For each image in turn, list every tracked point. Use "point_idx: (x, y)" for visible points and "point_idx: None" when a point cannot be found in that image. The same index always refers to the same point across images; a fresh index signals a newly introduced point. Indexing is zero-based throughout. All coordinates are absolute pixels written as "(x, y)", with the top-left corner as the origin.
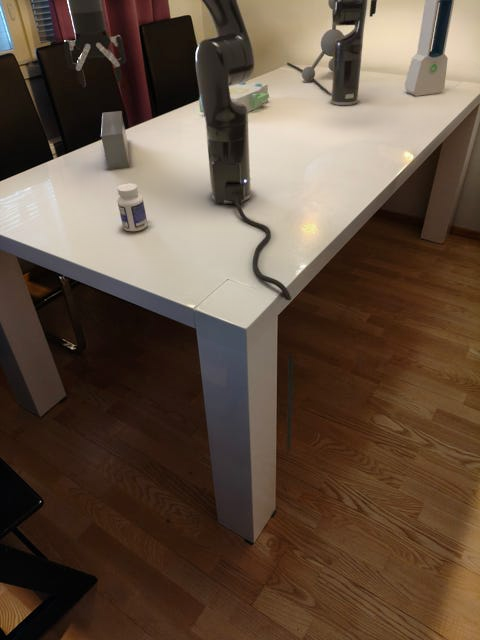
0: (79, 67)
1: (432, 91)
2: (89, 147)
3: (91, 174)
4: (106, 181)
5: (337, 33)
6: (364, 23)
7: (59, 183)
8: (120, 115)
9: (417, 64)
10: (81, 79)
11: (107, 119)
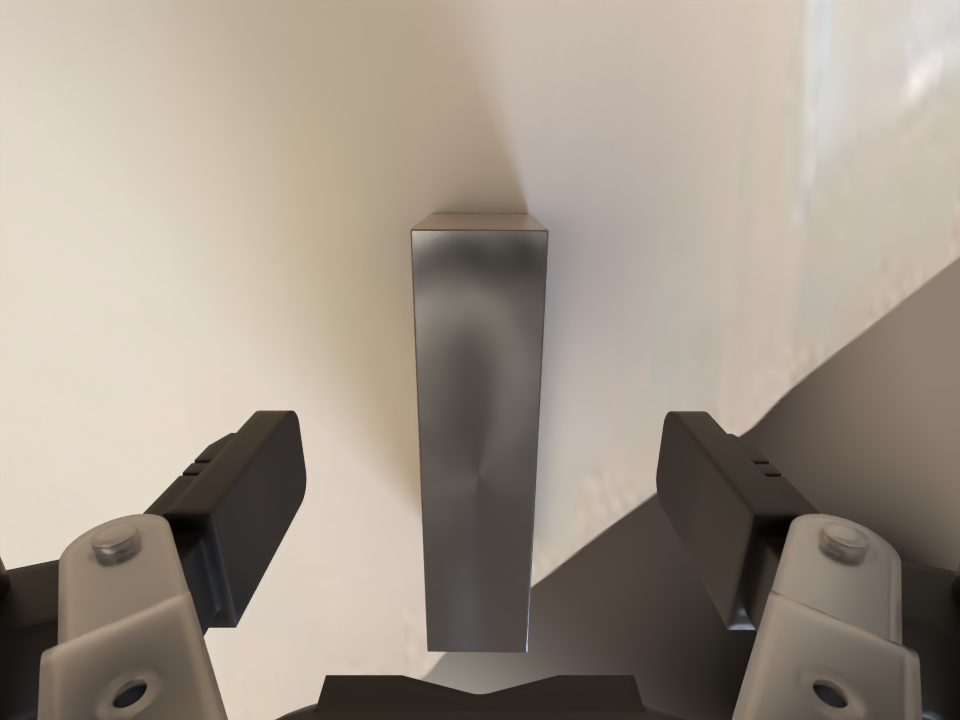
0: (824, 549)
1: None
2: (600, 525)
3: (611, 178)
4: (544, 46)
5: None
6: None
7: (769, 104)
8: (431, 580)
9: None
10: (738, 448)
11: (503, 536)
